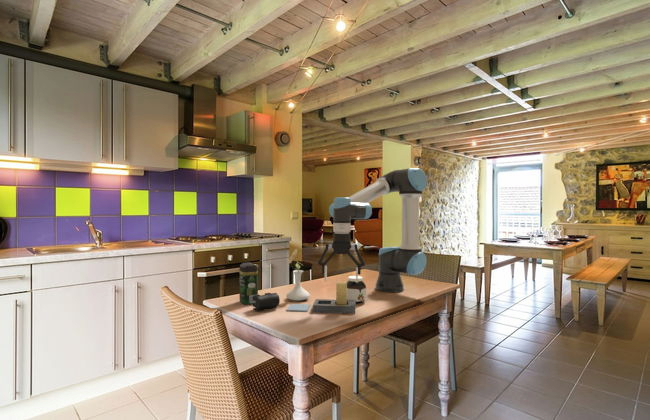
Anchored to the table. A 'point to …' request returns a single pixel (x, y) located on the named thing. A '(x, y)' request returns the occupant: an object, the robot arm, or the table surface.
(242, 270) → the coffee jar
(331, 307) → the steel socket block
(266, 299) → the end cap
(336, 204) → the robot arm
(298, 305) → the slate pad
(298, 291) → the flower in vase
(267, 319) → the table surface
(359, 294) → the spread jar
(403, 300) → the table surface
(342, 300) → the brass peg
